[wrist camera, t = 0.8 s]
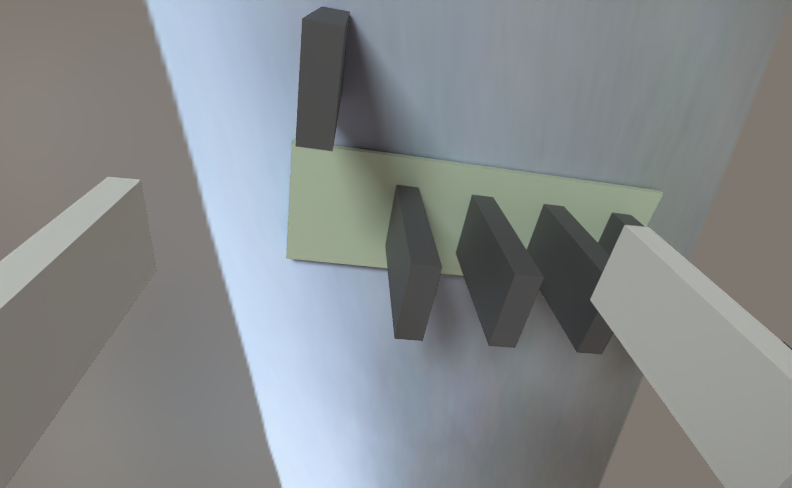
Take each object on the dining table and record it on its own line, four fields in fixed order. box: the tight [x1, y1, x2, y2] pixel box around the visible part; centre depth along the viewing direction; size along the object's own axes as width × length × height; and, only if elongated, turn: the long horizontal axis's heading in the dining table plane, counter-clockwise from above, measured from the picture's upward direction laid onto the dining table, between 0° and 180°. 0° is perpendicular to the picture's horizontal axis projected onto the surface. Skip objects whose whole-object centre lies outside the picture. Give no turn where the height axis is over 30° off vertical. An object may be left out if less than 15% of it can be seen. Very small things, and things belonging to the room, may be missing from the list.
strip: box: [286, 139, 664, 276], centre depth 33 cm, size 9×27×1 cm, turn 80°
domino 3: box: [456, 194, 544, 348], centre depth 28 cm, size 5×2×10 cm, turn 170°
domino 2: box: [385, 185, 442, 341], centre depth 27 cm, size 5×2×10 cm, turn 170°
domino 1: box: [295, 7, 350, 151], centre depth 22 cm, size 5×2×10 cm, turn 170°
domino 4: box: [527, 204, 613, 354], centre depth 29 cm, size 5×2×10 cm, turn 170°
